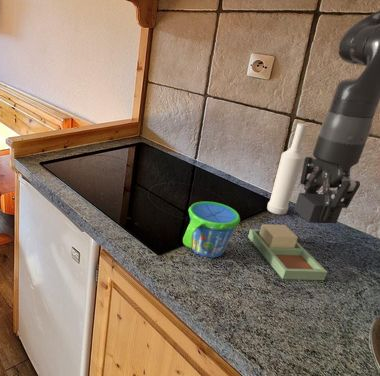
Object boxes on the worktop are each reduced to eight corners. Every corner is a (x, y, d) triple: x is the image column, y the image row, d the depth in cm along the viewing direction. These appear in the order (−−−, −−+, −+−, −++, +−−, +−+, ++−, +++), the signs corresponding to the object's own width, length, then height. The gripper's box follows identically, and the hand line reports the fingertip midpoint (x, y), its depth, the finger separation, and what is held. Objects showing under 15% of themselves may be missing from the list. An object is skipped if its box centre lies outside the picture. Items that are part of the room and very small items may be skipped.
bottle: (263, 205, 116) (286, 121, 105) (281, 206, 116) (307, 121, 105) (271, 214, 111) (297, 126, 101) (290, 215, 111) (318, 127, 101)
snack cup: (197, 270, 87) (206, 230, 83) (164, 246, 96) (171, 208, 92) (248, 253, 94) (258, 215, 89) (212, 232, 102) (221, 196, 98)
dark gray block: (319, 210, 87) (325, 193, 85) (336, 223, 82) (343, 206, 80) (293, 209, 87) (299, 192, 85) (308, 222, 82) (314, 205, 80)
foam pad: (280, 238, 99) (285, 224, 97) (292, 251, 94) (297, 237, 92) (257, 238, 99) (261, 224, 97) (268, 251, 94) (273, 236, 92)
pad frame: (283, 237, 100) (285, 230, 99) (324, 280, 85) (327, 271, 84) (247, 236, 100) (249, 229, 100) (282, 279, 85) (285, 270, 84)
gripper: (390, 149, 70) (356, 233, 77) (338, 126, 83) (313, 199, 90) (347, 148, 70) (317, 231, 77) (301, 125, 83) (279, 198, 91)
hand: (315, 214), depth 84 cm, fingers closed on dark gray block, 5 cm apart
